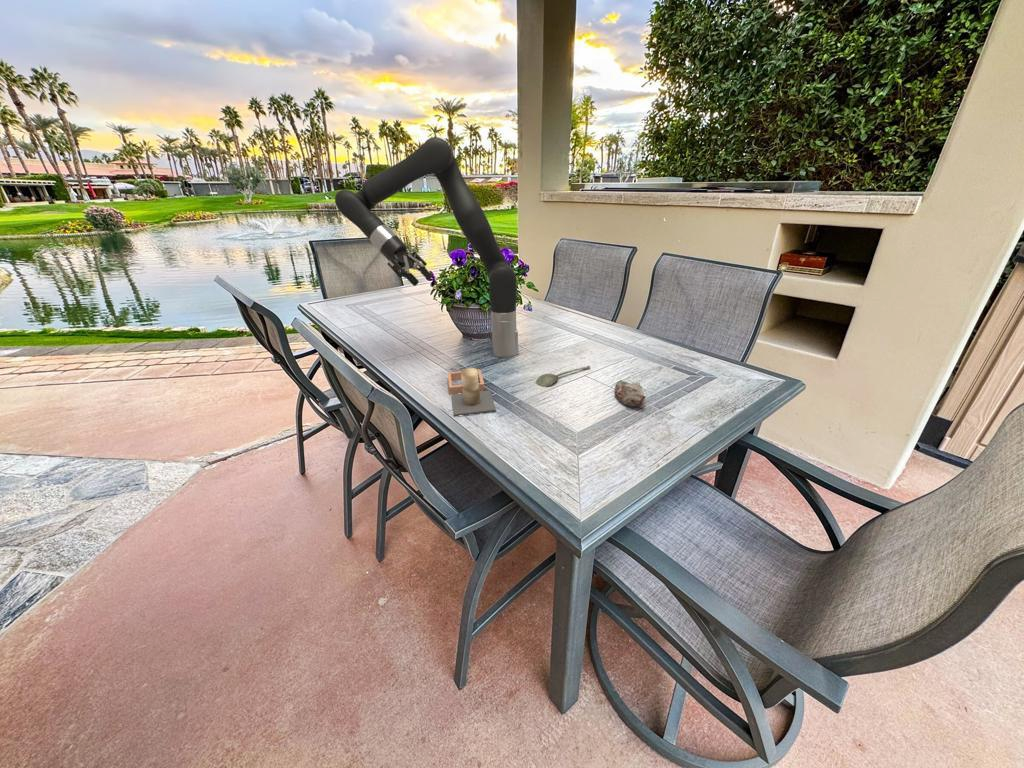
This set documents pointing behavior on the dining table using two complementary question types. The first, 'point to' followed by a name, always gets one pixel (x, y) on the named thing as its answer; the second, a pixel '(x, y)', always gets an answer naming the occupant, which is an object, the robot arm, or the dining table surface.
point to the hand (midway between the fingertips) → (424, 281)
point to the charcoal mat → (483, 407)
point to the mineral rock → (630, 393)
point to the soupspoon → (553, 377)
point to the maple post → (470, 386)
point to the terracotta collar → (459, 388)
